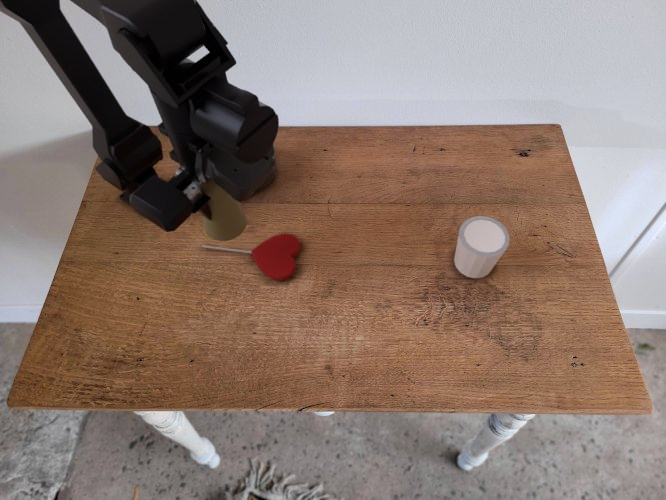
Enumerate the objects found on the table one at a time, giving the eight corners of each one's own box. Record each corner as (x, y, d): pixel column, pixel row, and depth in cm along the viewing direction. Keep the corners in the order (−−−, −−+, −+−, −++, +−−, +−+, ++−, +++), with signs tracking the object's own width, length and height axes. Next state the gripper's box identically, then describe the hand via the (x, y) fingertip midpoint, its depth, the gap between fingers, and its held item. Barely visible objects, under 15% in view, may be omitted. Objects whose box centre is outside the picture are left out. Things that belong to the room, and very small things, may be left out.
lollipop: (194, 270, 72) (292, 283, 71) (193, 267, 71) (292, 280, 70) (210, 226, 77) (303, 238, 75) (209, 223, 76) (302, 234, 74)
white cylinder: (501, 252, 73) (515, 224, 67) (489, 288, 70) (503, 263, 64) (457, 236, 75) (467, 209, 69) (443, 272, 71) (452, 245, 65)
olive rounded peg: (195, 232, 66) (172, 180, 57) (217, 200, 69) (199, 145, 60) (233, 247, 65) (216, 196, 56) (255, 213, 68) (242, 160, 59)
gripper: (183, 208, 44) (219, 288, 57) (304, 95, 52) (311, 187, 66) (101, 158, 48) (152, 244, 61) (226, 59, 56) (248, 154, 69)
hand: (220, 206), depth 64 cm, fingers closed on olive rounded peg, 4 cm apart
